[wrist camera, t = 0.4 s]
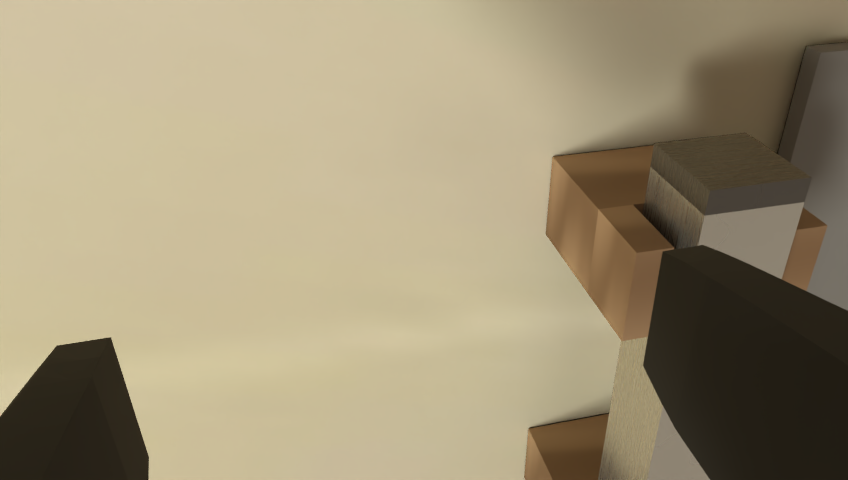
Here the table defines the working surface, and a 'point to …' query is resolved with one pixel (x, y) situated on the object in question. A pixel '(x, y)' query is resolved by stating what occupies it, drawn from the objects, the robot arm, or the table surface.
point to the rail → (686, 227)
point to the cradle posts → (617, 277)
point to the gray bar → (823, 159)
